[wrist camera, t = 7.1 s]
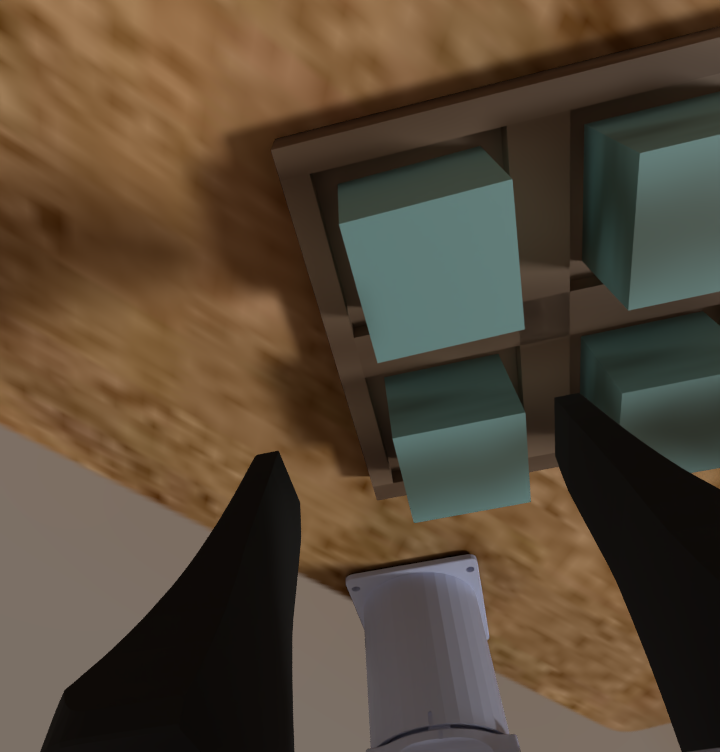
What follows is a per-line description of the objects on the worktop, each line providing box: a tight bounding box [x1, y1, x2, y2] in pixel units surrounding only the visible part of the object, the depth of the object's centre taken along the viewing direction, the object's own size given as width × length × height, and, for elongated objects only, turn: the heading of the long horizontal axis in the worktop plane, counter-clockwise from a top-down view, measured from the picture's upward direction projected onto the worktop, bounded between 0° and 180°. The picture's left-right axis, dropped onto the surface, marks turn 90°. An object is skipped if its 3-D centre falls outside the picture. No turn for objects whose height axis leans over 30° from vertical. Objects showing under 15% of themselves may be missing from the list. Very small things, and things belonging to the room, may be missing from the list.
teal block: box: [338, 146, 525, 363], centre depth 18 cm, size 5×5×4 cm
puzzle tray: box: [271, 27, 720, 523], centre depth 21 cm, size 17×17×5 cm
